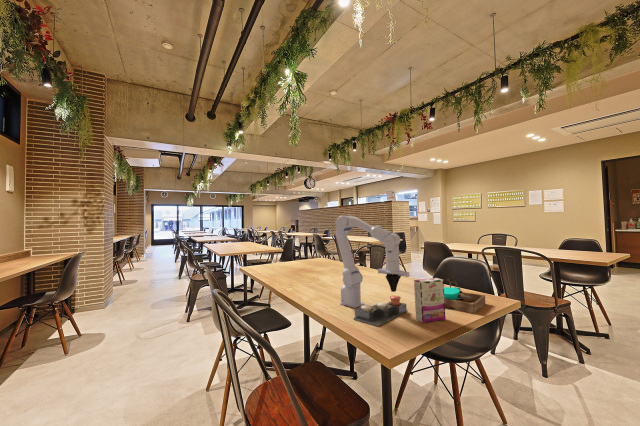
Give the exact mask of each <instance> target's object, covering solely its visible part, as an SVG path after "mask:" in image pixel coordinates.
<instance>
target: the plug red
mask: <svg viewBox="0 0 640 426" xmlns="http://www.w3.org/2000/svg"><path fill="white" fill-rule="evenodd" d="M389 299H390V302H391V305H393V306H399V305H400V303H401V302H400V301H401V296H399V295H390V296H389Z"/></svg>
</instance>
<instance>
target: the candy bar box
mask: <svg viewBox="0 0 640 426" xmlns="http://www.w3.org/2000/svg"><path fill="white" fill-rule="evenodd" d="M444 281H445V280H444V279H442V278H438V277H434V278H433V277H431V278H423V279H414V281H413V287H414V304H415V305H414V306H415V307H414V308H415V309H414V310H415V320H416V321H419V323H422V324H427V323H432V322H439V321H445V320H446V308H445V300H444V287H445V282H444Z"/></svg>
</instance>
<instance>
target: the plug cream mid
mask: <svg viewBox="0 0 640 426" xmlns="http://www.w3.org/2000/svg"><path fill="white" fill-rule="evenodd" d="M375 305H376V306H377V308H381V309H384V308H386V306H387V303H386V302H382V301H381V302H380V301H379V302H376V303H375Z"/></svg>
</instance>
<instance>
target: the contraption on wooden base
mask: <svg viewBox="0 0 640 426" xmlns="http://www.w3.org/2000/svg"><path fill="white" fill-rule="evenodd" d="M447 282H448V283H449V286H444V299H450V300H456V301H461V302H467V303H472V302H470V301H469V300H466V299H471V297H470V296H465V295H464V293H463V292H464V291H462V289H461V287H460V286H459V284H458V282H456V280H454V279H452V278H447ZM452 284H453V285H454V287H452ZM445 309H448V310H454V309H455V308H452V306H449V305H445Z"/></svg>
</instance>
